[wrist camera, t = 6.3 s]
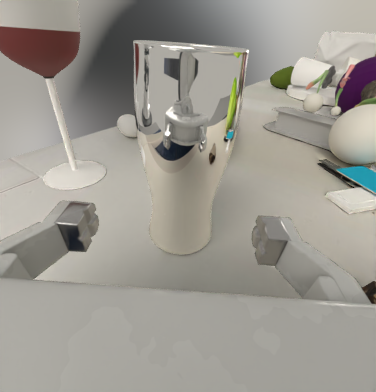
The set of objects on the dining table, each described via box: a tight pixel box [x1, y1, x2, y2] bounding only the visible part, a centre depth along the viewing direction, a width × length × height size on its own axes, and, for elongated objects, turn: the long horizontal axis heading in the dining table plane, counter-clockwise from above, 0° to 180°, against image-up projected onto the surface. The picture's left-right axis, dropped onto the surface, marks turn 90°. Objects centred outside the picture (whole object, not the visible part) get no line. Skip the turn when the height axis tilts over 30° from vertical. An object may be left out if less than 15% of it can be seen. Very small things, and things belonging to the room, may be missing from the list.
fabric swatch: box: [313, 31, 376, 87], centre depth 88 cm, size 24×19×25 cm
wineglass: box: [0, 0, 106, 190], centre depth 22 cm, size 8×9×20 cm
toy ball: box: [335, 56, 376, 113], centre depth 58 cm, size 15×15×15 cm
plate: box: [286, 85, 336, 106], centre depth 82 cm, size 28×28×2 cm
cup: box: [291, 57, 336, 89], centre depth 82 cm, size 10×10×13 cm
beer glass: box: [133, 40, 249, 255], centre depth 17 cm, size 7×7×15 cm
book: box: [264, 107, 376, 163], centre depth 46 cm, size 15×23×4 cm, turn 42°
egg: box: [117, 114, 137, 137], centre depth 39 cm, size 4×6×4 cm, turn 50°
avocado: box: [270, 66, 294, 89], centre depth 94 cm, size 9×8×12 cm
